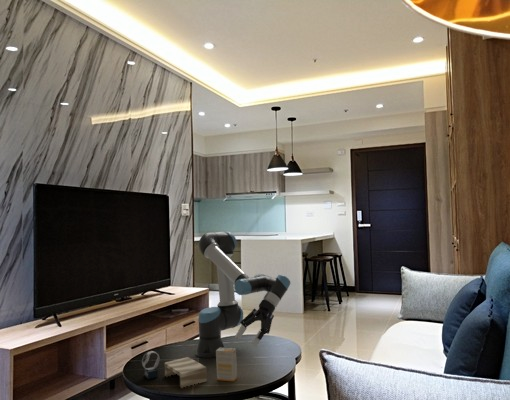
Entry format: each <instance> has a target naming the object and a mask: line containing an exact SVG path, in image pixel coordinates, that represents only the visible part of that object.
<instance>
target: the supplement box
mask: <svg viewBox="0 0 510 400" xmlns="http://www.w3.org/2000/svg"><path fill="white" fill-rule="evenodd" d="M215 358H216V359H215V361H216V362H215V364H216V380H217V381H224V382H225V381H226V382H235V381H236V380H237V379H238V365H237V364H238V363H237V362H238V361H237V359H238V358H237V348H234V347H233V348H232V347H224V348H221V347H220V348H219V349H217V350H216V357H215Z"/></svg>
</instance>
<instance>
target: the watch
mask: <svg viewBox="0 0 510 400" xmlns="http://www.w3.org/2000/svg"><path fill="white" fill-rule="evenodd" d="M152 354H156V356H157V358H156V361H155V363H154V364H153V366H151V367H146V365H147V364H148V362H149V360H150V357H151V355H152ZM160 360H161V358H160V354H159V353H157V352H156V351H153V350H150V351H147V352H145V353H144V354H143V356H142V358H141V364H142V365H141V366H142V367H143V369H144V377H145V378H147V379H148V380H150V378H152V379H155V378H154V377H156V378H158V377H159V376H158V375H159V374H158V371H159V370H158V369H157V368H158V366H159V364H160Z"/></svg>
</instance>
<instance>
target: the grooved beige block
mask: <svg viewBox="0 0 510 400" xmlns="http://www.w3.org/2000/svg"><path fill="white" fill-rule="evenodd" d="M207 373H208V372H207V366H205V365H204V364H202V363H200V362H198V361H197V360H194V359H192V358H190V357H189V356H186V357H183V358H178V359H174V360H169V361H166V362H164V377H165V376H166V378H168V376H169V377H172V376H171V375H173V376H176V374H177V376H179V387H180V388H181V389H184V388H183V387H185V388H187V387H186V386H188V387H191V386H190V385H192V386H195V385H199V384H201V383H206V382H207V381H208V378H207V377H208V376H207ZM198 383H199V384H198ZM194 384H195V385H194Z"/></svg>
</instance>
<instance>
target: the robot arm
mask: <svg viewBox="0 0 510 400" xmlns="http://www.w3.org/2000/svg"><path fill="white" fill-rule="evenodd" d="M236 247H237V239H236V236H235V235H234V234H233V233H232V232H230V231H214V232H213V231H209V232H207V233H204V234H203V235H201V237H200V239H199V241H198V248H199V251H200V253H201V255H203V257H205V258H206V259H208V260H209V259H210V261H211V262H212V263H213V264H214V265H215V266H216V274H217V275H216V276H217V282H218V283H217V284H218V286H217V287H218V295H219V296H218V297H219V302H218V304H217V306H211V307H206V308H203V309H201V310H200V311H199V313H198V319H197V320H198V343H197V345H196V350H195V352H196V353H195V355H196V357H199V358H203V359H211V358H216V350H217V349H219V348H220V347H221V348H225V345H224V343H223V340H222V333H221V332H222V331H225V330H230V329H234V328H236V327H238V326H240V325H241V326H240V327H239V328H238V331H237V333H236V334H235V336H234V338H235V339H237V341H239V340H241V339H242V336H244V333H245V332H246V331H247V328H248V327H249V326H250V325H252V324H254V323H255V322H258V321H260V329H259V330H258V332H257V333H256V334H255V337H254V338H253V340H252V341H251V344H252V345H253V346H254V347H257V346H258V344H259V343H260V342H261V340H262V338H263V337H264V335H266V334H267V335H269V334H270V332H271V327H272V323H273V320H274V318H275V315H274V314H273V313H274V312H275V310H276V308H277V307H278V305H279V303H280V302H281V300H282V299H283V297H284V295H286V292H287V291H288V289H289V288H290V286H291V280H290V279H289V278H288V276H285V275H283V274H278V275H277V276H276V277H272V276H269V275H267V274H262V273H257V274H255V275H254V276H253V277H249V276H248V275H247V274H246V273H245V272H244V271H243V270H242V269H241V268H240V267H239V266H238V265H237V264H236V263H235V261H233V260H232V256H234V251H235V250H236ZM259 292H266V293H265V294H264V296H263V298H262V300H261V301H260V303H259V304H258V309H256V308H253V309H252V310H251V312H249V313H248V314H247V316H245V317H244V310H243V308H242V307H241V306H240V305H239V302H238V301H237V300H236V297H235V293H236V294H237V295H239V296H246V295H251V294H255V293H259Z"/></svg>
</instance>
